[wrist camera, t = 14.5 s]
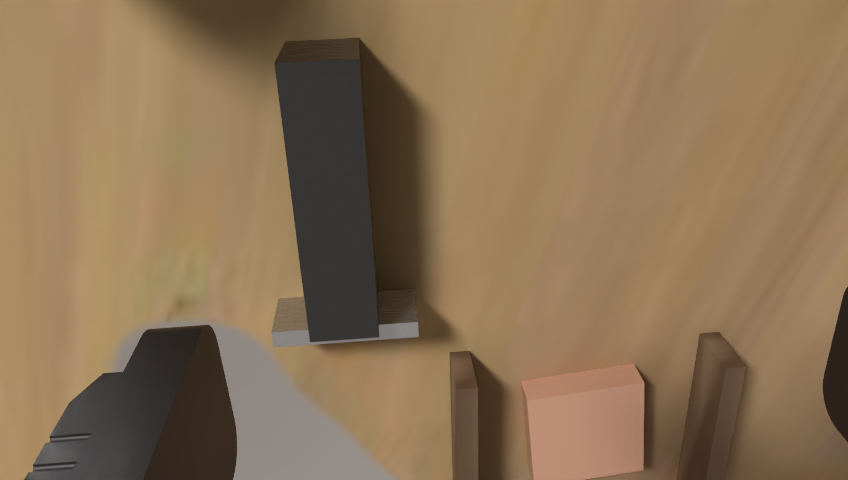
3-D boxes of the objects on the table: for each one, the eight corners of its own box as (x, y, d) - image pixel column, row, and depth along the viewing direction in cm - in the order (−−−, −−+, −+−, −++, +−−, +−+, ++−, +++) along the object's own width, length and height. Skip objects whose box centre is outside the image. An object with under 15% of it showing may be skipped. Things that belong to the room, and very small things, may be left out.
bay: (718, 332, 38) (746, 366, 35) (688, 509, 43) (710, 550, 41) (449, 352, 37) (456, 389, 34) (454, 529, 43) (460, 573, 40)
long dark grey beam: (401, 35, 30) (406, 56, 26) (414, 302, 36) (420, 349, 32) (242, 43, 30) (225, 65, 26) (280, 311, 35) (271, 360, 32)
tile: (631, 359, 39) (644, 382, 37) (631, 444, 41) (643, 470, 40) (519, 376, 39) (526, 400, 37) (526, 460, 41) (534, 487, 40)
